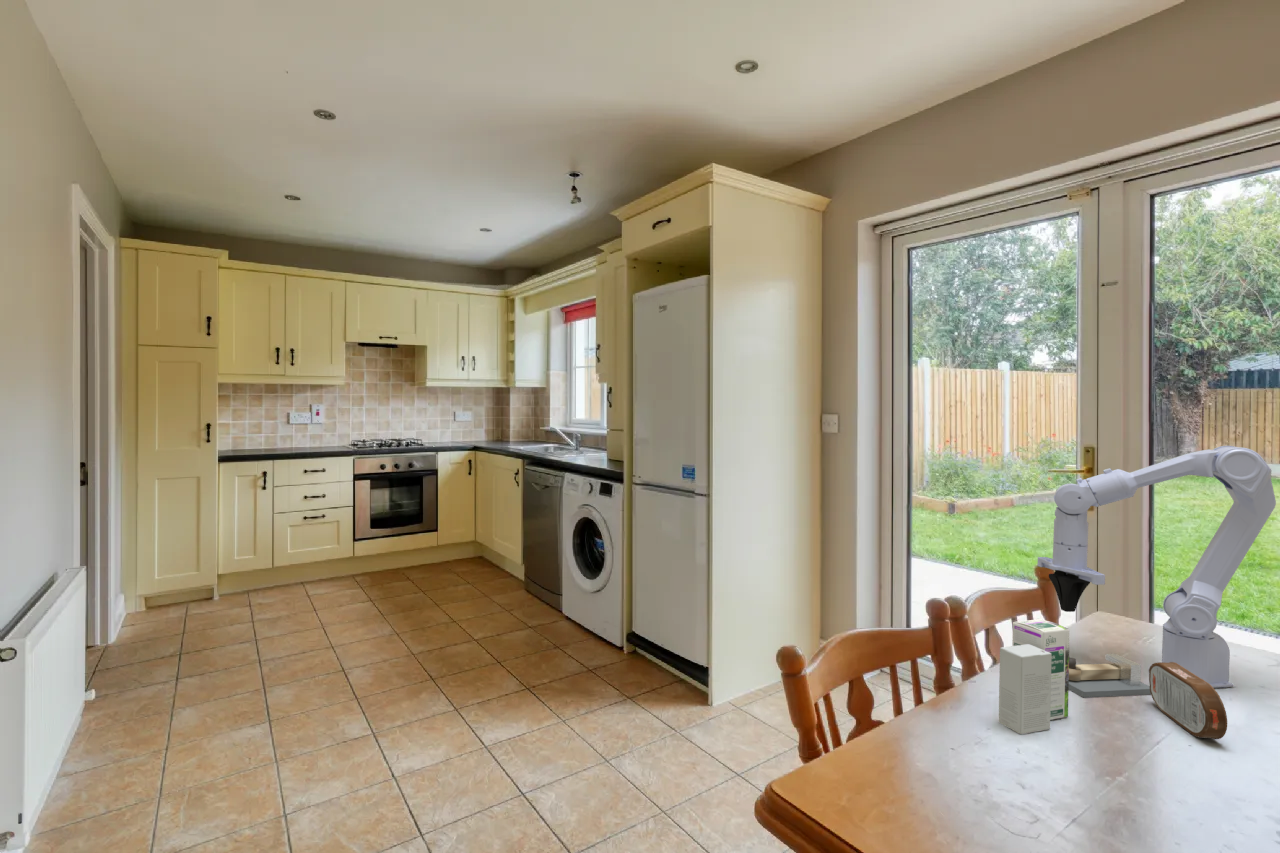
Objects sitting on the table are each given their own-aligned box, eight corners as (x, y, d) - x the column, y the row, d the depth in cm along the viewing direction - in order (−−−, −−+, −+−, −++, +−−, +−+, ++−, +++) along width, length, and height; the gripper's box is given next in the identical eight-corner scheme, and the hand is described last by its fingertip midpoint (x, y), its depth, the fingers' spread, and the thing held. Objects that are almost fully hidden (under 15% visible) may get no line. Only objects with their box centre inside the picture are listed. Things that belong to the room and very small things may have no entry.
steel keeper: (1114, 673, 116) (1115, 653, 116) (1140, 685, 111) (1141, 664, 111) (1104, 673, 116) (1105, 653, 115) (1130, 685, 110) (1131, 665, 110)
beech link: (1069, 681, 111) (1070, 662, 111) (1056, 674, 114) (1057, 655, 114) (1132, 679, 113) (1133, 660, 112) (1118, 672, 116) (1119, 654, 115)
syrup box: (1042, 723, 98) (1045, 631, 98) (1009, 706, 104) (1012, 619, 104) (1068, 718, 100) (1071, 628, 100) (1034, 701, 106) (1037, 616, 105)
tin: (1228, 750, 91) (1231, 693, 91) (1203, 747, 92) (1206, 691, 92) (1164, 703, 106) (1166, 654, 106) (1143, 701, 107) (1145, 652, 106)
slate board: (1100, 668, 120) (1101, 663, 120) (1155, 694, 109) (1155, 688, 109) (1035, 671, 118) (1035, 666, 118) (1083, 697, 108) (1083, 691, 108)
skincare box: (1026, 717, 100) (1028, 643, 100) (1050, 730, 96) (1053, 653, 96) (996, 721, 98) (998, 646, 98) (1020, 735, 94) (1022, 656, 94)
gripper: (1025, 536, 132) (1023, 600, 132) (1082, 551, 118) (1080, 623, 118) (1055, 536, 133) (1053, 599, 133) (1115, 551, 119) (1113, 622, 119)
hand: (1068, 610), depth 126 cm, fingers closed
